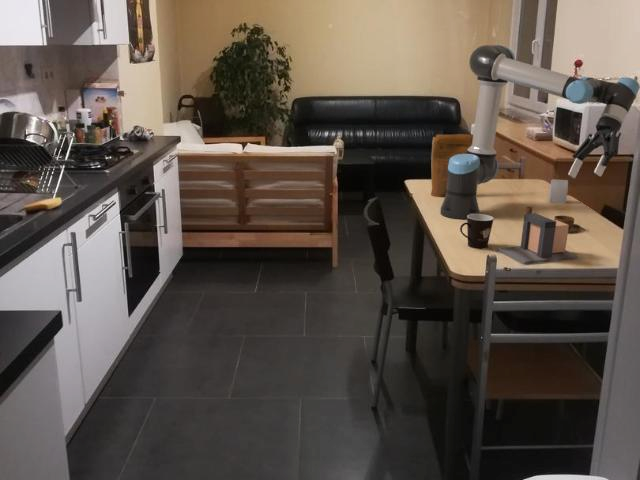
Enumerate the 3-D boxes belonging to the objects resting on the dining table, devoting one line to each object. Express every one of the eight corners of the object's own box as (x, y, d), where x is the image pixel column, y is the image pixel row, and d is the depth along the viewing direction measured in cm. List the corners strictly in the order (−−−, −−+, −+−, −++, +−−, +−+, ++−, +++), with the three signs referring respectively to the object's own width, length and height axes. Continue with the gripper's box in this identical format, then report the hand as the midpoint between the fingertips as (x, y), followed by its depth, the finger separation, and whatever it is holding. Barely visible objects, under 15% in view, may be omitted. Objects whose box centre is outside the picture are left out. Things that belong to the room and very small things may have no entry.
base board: (523, 264, 195) (524, 261, 195) (497, 250, 208) (498, 248, 207) (578, 258, 201) (578, 255, 201) (549, 245, 214) (549, 243, 214)
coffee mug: (486, 242, 217) (489, 214, 214) (493, 250, 209) (497, 220, 206) (452, 241, 216) (455, 213, 213) (459, 249, 208) (461, 220, 205)
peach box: (539, 254, 201) (542, 227, 198) (527, 248, 206) (530, 222, 204) (565, 251, 204) (568, 225, 201) (552, 246, 209) (556, 220, 207)
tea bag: (565, 203, 273) (568, 181, 270) (549, 202, 274) (552, 180, 271) (564, 201, 276) (567, 179, 273) (548, 200, 277) (550, 178, 274)
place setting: (550, 236, 227) (552, 220, 225) (521, 221, 246) (522, 206, 244) (592, 233, 231) (595, 218, 230) (560, 219, 250) (562, 204, 248)
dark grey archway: (540, 257, 199) (545, 222, 195) (520, 247, 208) (524, 213, 205) (551, 256, 200) (556, 221, 196) (530, 246, 209) (534, 212, 206)
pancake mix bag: (472, 199, 278) (478, 135, 269) (428, 197, 279) (433, 133, 271) (470, 195, 284) (475, 133, 276) (427, 194, 286) (431, 131, 277)
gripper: (646, 121, 205) (618, 179, 203) (594, 130, 229) (569, 182, 227) (629, 109, 203) (600, 167, 201) (579, 120, 227) (553, 171, 225)
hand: (584, 175), depth 214 cm, fingers open, 13 cm apart
